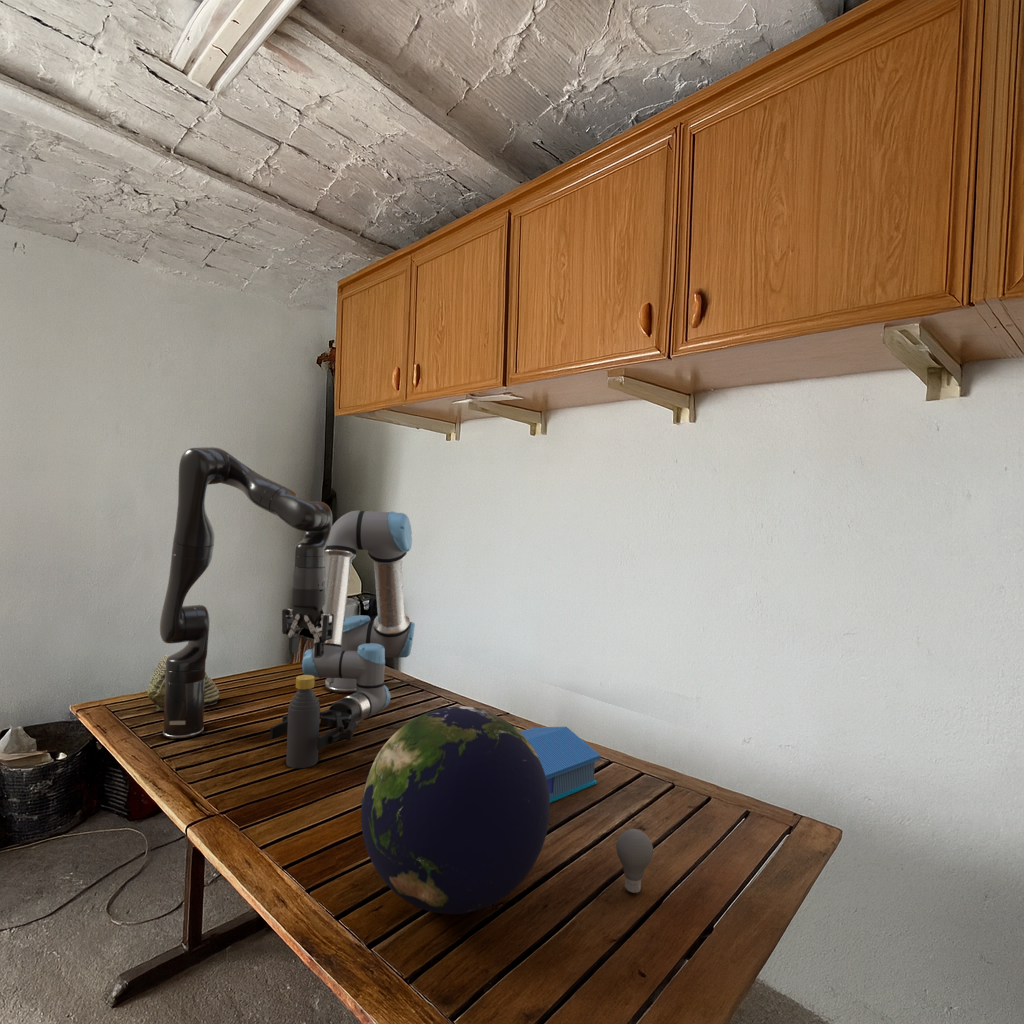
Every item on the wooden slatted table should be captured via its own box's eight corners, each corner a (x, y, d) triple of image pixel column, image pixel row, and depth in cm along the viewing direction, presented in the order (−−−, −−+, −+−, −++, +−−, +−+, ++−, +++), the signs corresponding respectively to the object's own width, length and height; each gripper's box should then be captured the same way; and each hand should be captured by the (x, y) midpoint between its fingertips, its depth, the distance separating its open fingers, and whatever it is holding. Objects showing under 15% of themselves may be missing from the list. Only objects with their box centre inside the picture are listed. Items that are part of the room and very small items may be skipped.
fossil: (144, 707, 182) (145, 655, 182) (212, 696, 194) (213, 647, 194) (151, 716, 175) (153, 662, 175) (221, 703, 188) (223, 653, 188)
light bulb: (610, 879, 108) (613, 822, 108) (644, 879, 109) (647, 822, 109) (619, 902, 102) (622, 840, 102) (655, 901, 103) (658, 840, 103)
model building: (474, 846, 117) (476, 792, 117) (402, 796, 135) (404, 749, 135) (608, 788, 143) (610, 744, 143) (533, 753, 161) (535, 714, 161)
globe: (316, 925, 94) (323, 724, 93) (419, 831, 121) (425, 675, 121) (501, 992, 83) (511, 764, 82) (568, 871, 110) (576, 700, 110)
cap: (293, 689, 148) (293, 679, 148) (297, 684, 152) (298, 674, 152) (312, 689, 148) (312, 680, 148) (316, 684, 153) (316, 674, 153)
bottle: (282, 768, 147) (285, 683, 146) (290, 755, 154) (293, 674, 153) (314, 768, 147) (317, 683, 147) (320, 755, 155) (323, 674, 154)
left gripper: (274, 584, 149) (271, 654, 150) (321, 590, 143) (319, 663, 144) (296, 581, 156) (294, 648, 156) (343, 586, 150) (340, 656, 151)
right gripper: (389, 733, 163) (338, 764, 143) (309, 717, 172) (251, 744, 152) (390, 704, 163) (340, 731, 143) (310, 690, 172) (253, 713, 152)
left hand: (306, 655), depth 150 cm, fingers open, 7 cm apart
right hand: (294, 738), depth 147 cm, fingers open, 13 cm apart
